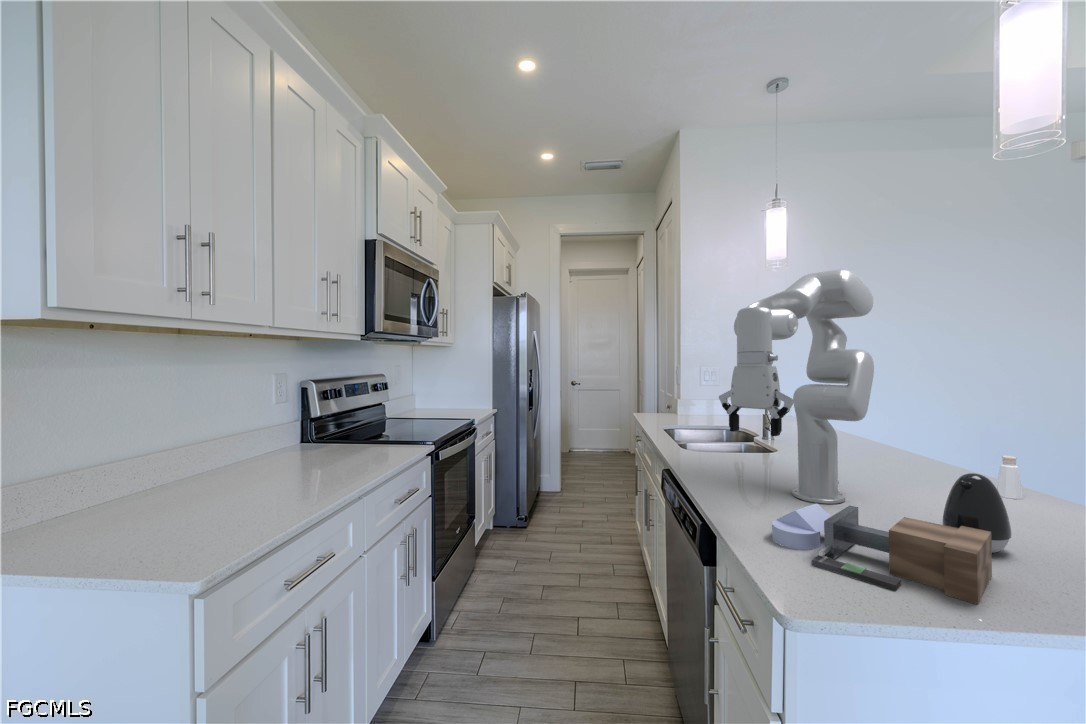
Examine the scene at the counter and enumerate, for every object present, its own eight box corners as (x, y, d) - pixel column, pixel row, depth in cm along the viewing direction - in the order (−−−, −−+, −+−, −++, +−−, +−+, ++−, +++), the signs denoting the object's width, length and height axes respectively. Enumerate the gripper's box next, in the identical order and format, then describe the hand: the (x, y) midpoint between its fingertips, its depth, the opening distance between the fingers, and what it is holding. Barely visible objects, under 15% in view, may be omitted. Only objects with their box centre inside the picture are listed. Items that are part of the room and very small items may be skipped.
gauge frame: (846, 539, 99) (846, 502, 99) (992, 576, 81) (991, 531, 81) (812, 564, 87) (811, 523, 87) (972, 615, 69) (971, 562, 69)
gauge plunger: (850, 537, 98) (849, 505, 98) (910, 553, 90) (910, 517, 90) (816, 562, 87) (815, 526, 87) (882, 582, 79) (881, 542, 79)
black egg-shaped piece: (931, 543, 96) (930, 471, 95) (959, 534, 100) (958, 465, 100) (994, 563, 86) (993, 482, 86) (1022, 552, 90) (1021, 476, 90)
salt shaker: (991, 492, 128) (990, 453, 128) (1015, 494, 127) (1015, 454, 127) (1003, 498, 123) (1003, 457, 123) (1029, 500, 122) (1028, 458, 121)
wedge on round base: (797, 526, 106) (763, 539, 100) (797, 498, 106) (763, 508, 100) (839, 539, 99) (804, 553, 92) (838, 508, 99) (804, 520, 92)
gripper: (800, 360, 103) (800, 436, 102) (727, 360, 116) (727, 428, 116) (785, 359, 98) (785, 439, 98) (711, 360, 111) (711, 430, 111)
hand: (754, 433), depth 107 cm, fingers open, 9 cm apart
